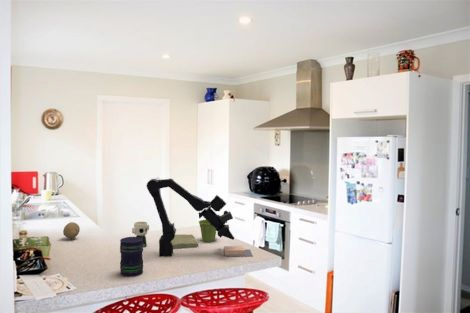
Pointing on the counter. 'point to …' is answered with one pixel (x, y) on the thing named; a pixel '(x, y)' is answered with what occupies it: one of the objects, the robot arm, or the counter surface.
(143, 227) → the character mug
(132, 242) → the storage jar
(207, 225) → the plant pot
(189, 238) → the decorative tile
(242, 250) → the tile
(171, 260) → the counter surface
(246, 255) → the mat
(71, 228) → the natural sponge
